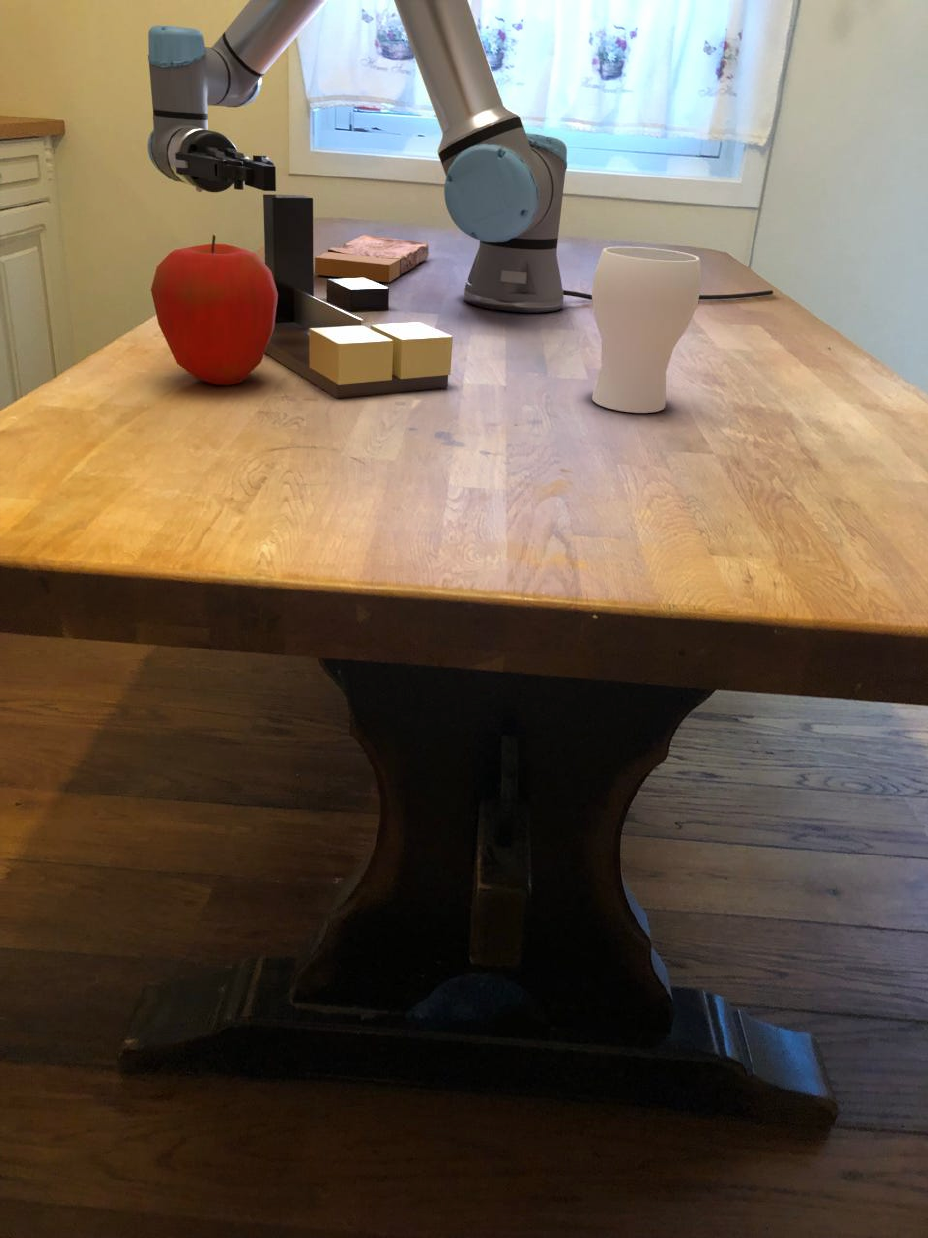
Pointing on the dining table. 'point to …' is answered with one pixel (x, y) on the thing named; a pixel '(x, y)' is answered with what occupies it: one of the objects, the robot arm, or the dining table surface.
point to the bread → (371, 258)
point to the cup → (641, 322)
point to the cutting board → (294, 353)
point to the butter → (379, 352)
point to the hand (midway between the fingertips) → (269, 178)
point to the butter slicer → (296, 264)
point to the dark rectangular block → (357, 294)
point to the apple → (215, 310)
